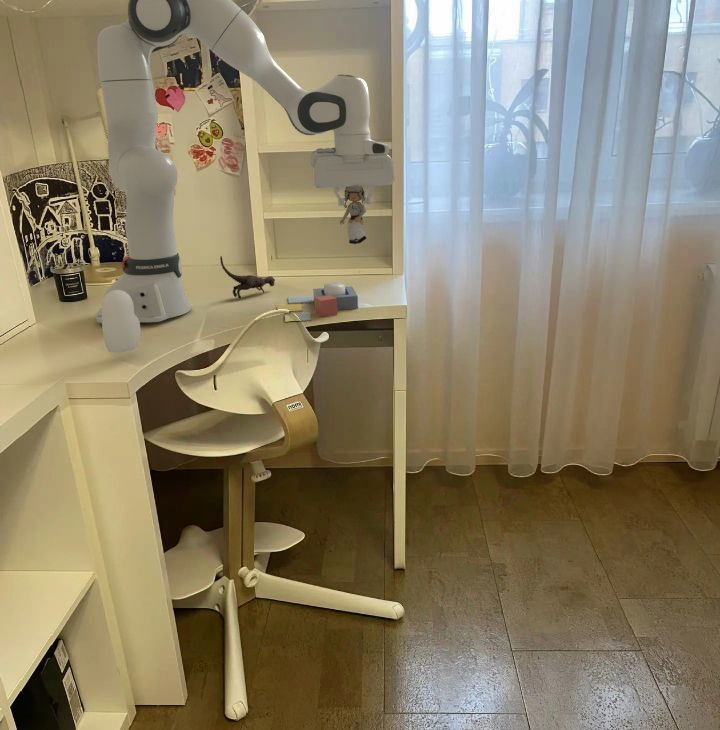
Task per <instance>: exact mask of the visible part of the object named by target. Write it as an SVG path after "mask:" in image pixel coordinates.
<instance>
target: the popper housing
mask: <svg viewBox="0 0 720 730" xmlns="http://www.w3.org/2000/svg"><path fill="white" fill-rule="evenodd" d="M319 296H325V295H324V287H323V288H321V287H320V288H313V298H314V297H319ZM333 297H335V298H337V310H347V309H350V310H351V309H358V308H359V301H358V297H359V296H358V294H357V293H356V290H355V288H354V287H353V286H352V285H351V286H345V295H336V296H333ZM313 302H314V303H315V300H314V299H313Z"/></svg>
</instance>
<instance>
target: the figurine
mask: <svg viewBox="0 0 720 730" xmlns="http://www.w3.org/2000/svg"><path fill="white" fill-rule="evenodd" d="M104 295H105V294H104ZM101 309H102V323H101V329H102V337H103V341H104V345H105V347H106V350H107V351H108V352H109V353H114V354H117V353H118V354H121V353H127V352H131V351H134V350H136V349H137V348H138V347H139V342H140V337H141V322H139V319H138V318H137V317H136V316H135V314H134V305H133V301H132V299H131V297H130V295H129V294H127V293H126V292H124V291H122V290H113V291H111V292H109V293H107V294H106V295H105V297H104V296H103V299H102V302H101Z"/></svg>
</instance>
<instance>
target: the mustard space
mask: <svg viewBox="0 0 720 730" xmlns="http://www.w3.org/2000/svg"><path fill="white" fill-rule="evenodd" d="M277 309H288V310H290V311H293V312H292V313H300V312H303V307H302V303H298V304H289V303H288V304H278V305H277V304H276V310H277Z"/></svg>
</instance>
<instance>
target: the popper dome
mask: <svg viewBox="0 0 720 730" xmlns="http://www.w3.org/2000/svg"><path fill="white" fill-rule="evenodd" d="M345 287H346V284H345V283H343V282H329V283H325V284H324V285H323V288H324V295H331V296H336V295H345Z"/></svg>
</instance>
